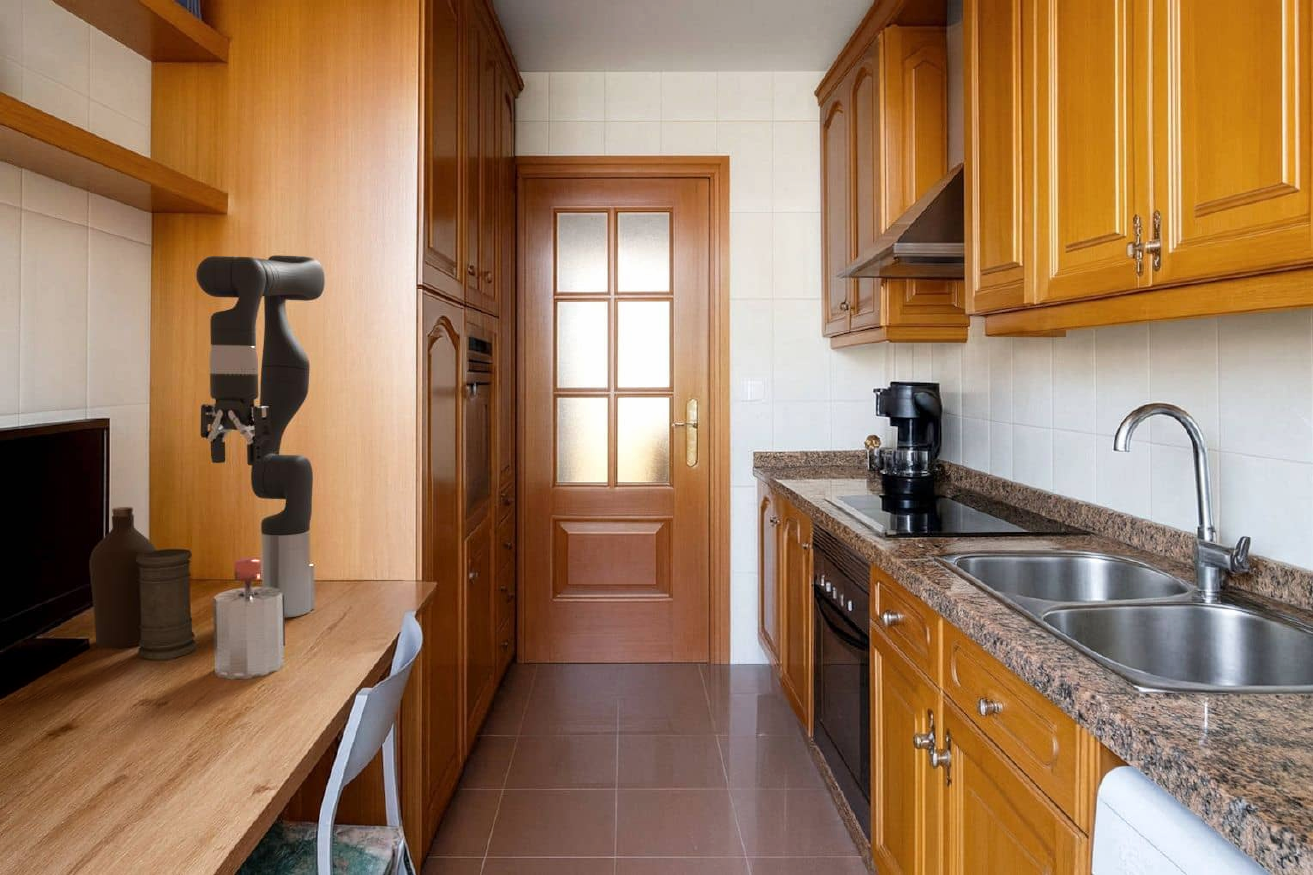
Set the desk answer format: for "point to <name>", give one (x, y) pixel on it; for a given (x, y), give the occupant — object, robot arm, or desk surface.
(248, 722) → the desk surface
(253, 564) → the plunger
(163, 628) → the container
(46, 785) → the desk surface
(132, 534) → the olive oil
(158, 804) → the desk surface
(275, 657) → the press carafe
